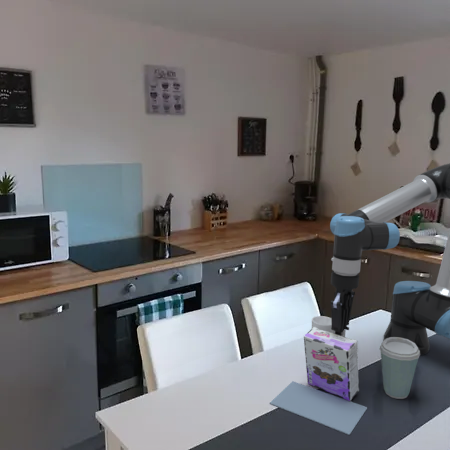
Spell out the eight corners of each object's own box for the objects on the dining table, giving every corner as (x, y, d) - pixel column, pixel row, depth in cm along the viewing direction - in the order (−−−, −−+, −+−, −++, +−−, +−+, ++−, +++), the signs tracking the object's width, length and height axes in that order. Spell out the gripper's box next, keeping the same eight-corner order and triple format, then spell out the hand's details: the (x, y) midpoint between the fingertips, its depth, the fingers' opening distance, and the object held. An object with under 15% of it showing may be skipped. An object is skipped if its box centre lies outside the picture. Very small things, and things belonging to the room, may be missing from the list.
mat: (292, 382, 135) (292, 381, 135) (367, 408, 123) (367, 407, 122) (269, 403, 123) (269, 402, 123) (349, 435, 111) (349, 434, 111)
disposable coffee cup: (417, 406, 124) (423, 355, 121) (375, 399, 127) (380, 349, 124) (413, 387, 134) (419, 339, 131) (374, 380, 137) (379, 333, 134)
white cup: (315, 340, 163) (317, 314, 161) (336, 347, 158) (339, 319, 156) (306, 348, 156) (307, 321, 154) (327, 355, 152) (329, 327, 150)
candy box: (306, 383, 134) (302, 335, 129) (317, 373, 138) (313, 325, 133) (350, 402, 125) (347, 350, 119) (360, 389, 129) (357, 339, 123)
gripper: (340, 264, 134) (334, 340, 139) (323, 274, 124) (316, 355, 128) (366, 269, 130) (358, 347, 135) (350, 280, 120) (342, 363, 124)
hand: (338, 351), depth 131 cm, fingers closed
